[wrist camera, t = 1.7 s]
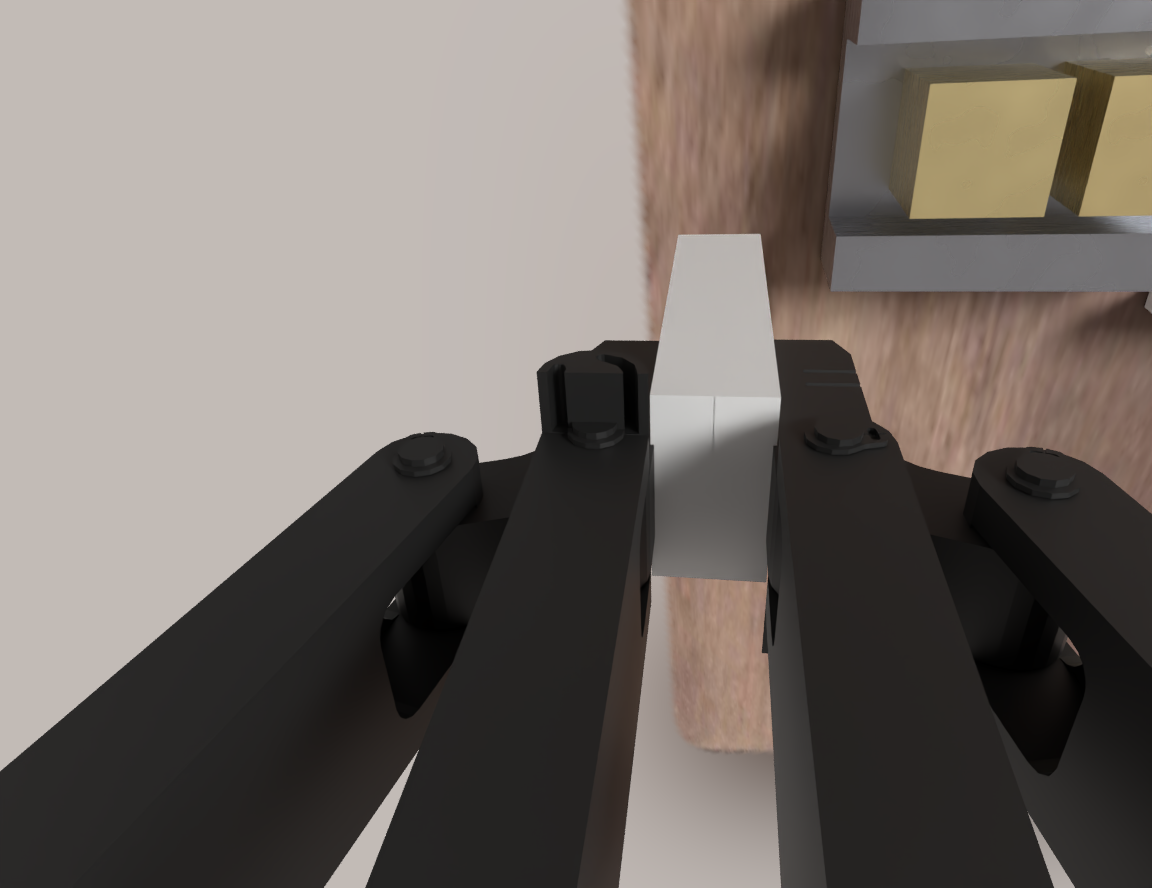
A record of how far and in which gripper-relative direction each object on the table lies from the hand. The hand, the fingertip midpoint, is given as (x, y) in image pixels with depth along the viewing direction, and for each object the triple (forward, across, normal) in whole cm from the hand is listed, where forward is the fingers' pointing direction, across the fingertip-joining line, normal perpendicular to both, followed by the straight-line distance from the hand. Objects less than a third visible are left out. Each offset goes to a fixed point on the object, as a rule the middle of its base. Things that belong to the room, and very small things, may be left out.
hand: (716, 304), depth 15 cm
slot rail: (+18, +10, 0) cm, 20 cm away
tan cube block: (+16, +8, 0) cm, 18 cm away
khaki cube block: (+16, +13, 0) cm, 21 cm away
